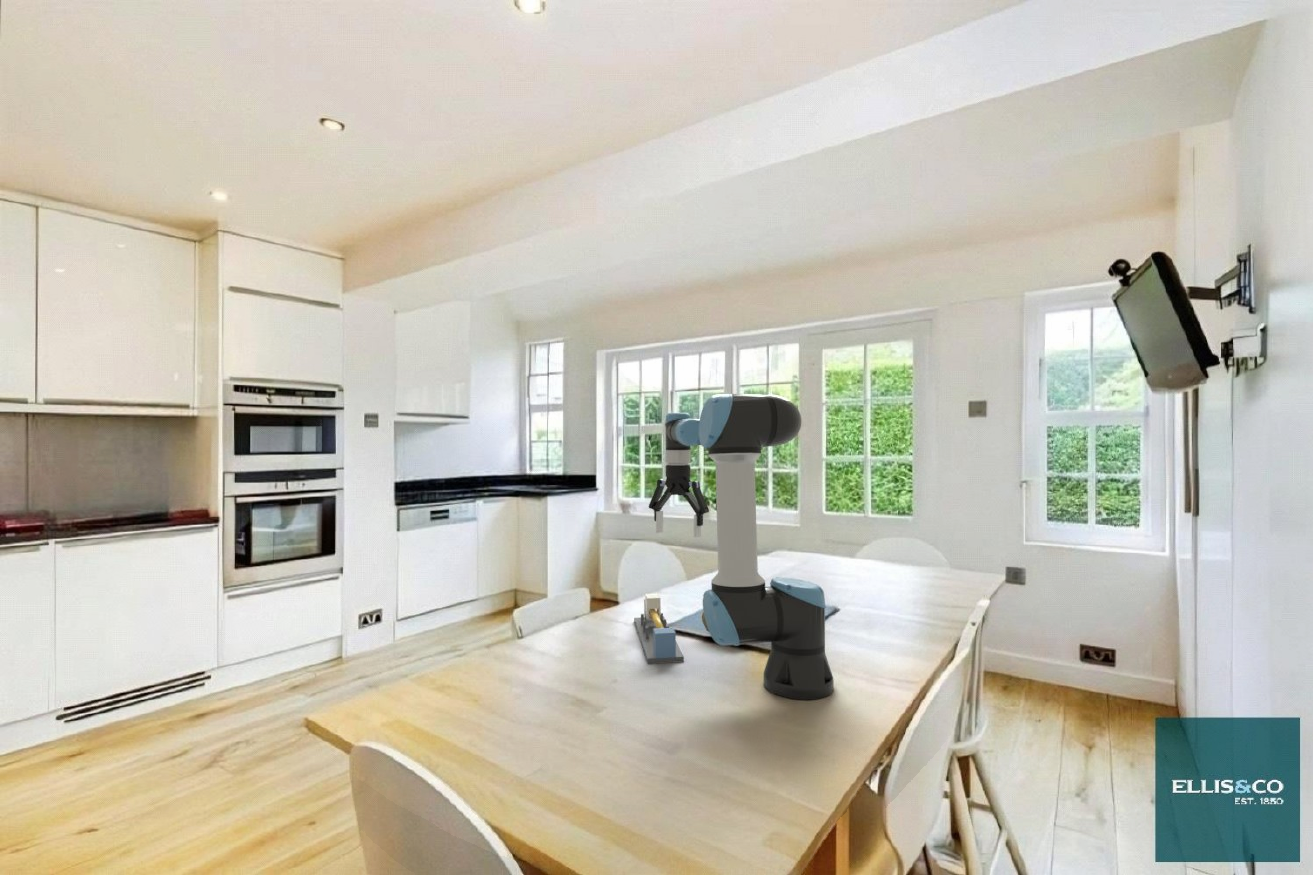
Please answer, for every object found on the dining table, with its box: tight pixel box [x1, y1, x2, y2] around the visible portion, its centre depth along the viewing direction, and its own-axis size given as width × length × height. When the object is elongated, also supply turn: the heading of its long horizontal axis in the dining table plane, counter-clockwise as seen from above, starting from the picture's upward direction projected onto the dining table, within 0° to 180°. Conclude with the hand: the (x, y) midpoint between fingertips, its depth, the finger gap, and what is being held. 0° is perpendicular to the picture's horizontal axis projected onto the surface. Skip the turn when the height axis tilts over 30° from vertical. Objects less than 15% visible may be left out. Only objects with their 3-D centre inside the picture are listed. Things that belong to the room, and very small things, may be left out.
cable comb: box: [633, 598, 685, 664], centre depth 164 cm, size 34×9×7 cm, turn 8°
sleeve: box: [644, 593, 662, 621], centre depth 172 cm, size 5×4×6 cm
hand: (678, 534), depth 181 cm, fingers open, 13 cm apart
